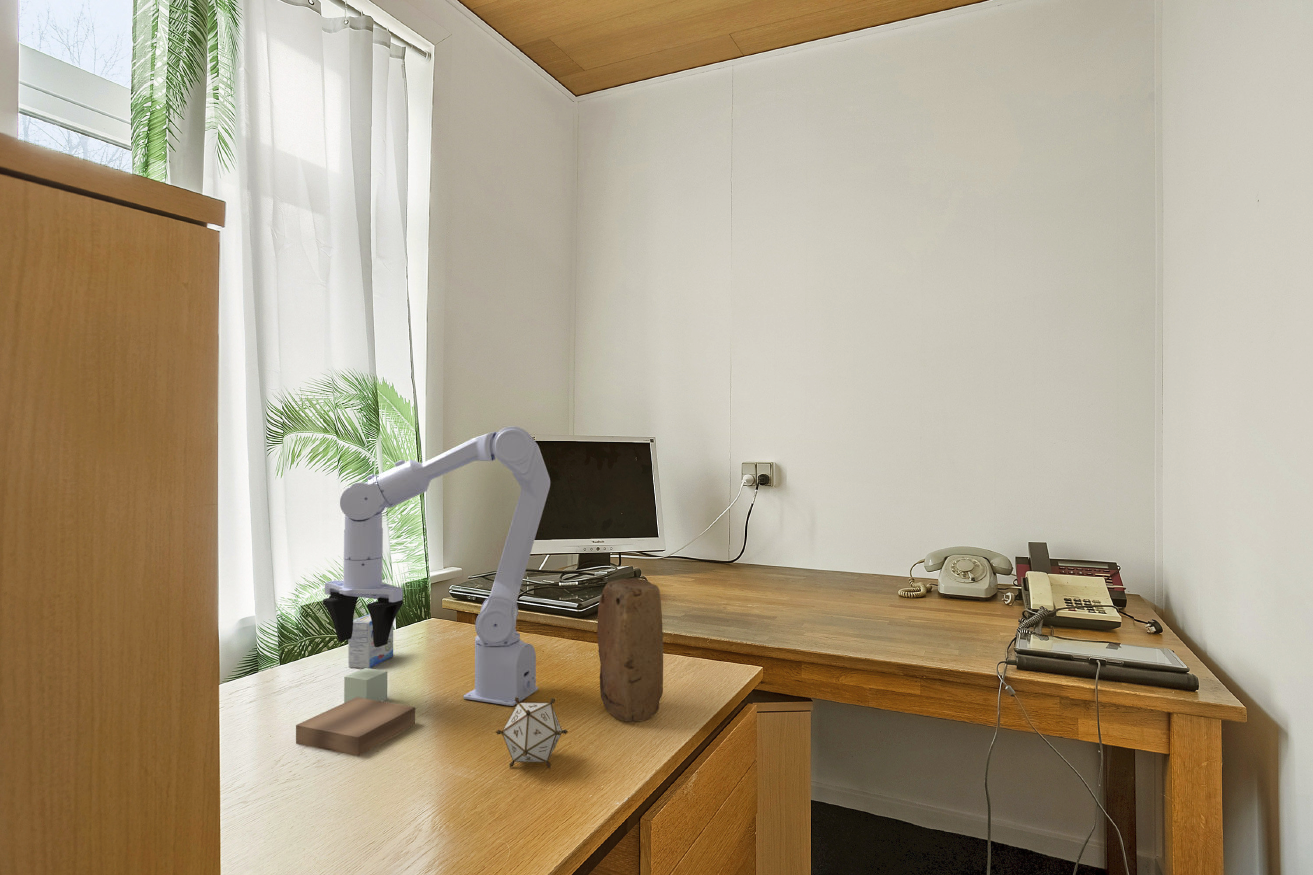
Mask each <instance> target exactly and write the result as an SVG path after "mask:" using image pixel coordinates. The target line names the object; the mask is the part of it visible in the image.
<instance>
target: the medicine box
mask: <svg viewBox="0 0 1313 875" xmlns="http://www.w3.org/2000/svg"><path fill="white" fill-rule="evenodd" d="M347 641H348V645H347V646H348V647H347V648H348V650H347V651H348V657H347V658H348V660H347V661H348V668H352V669H364V668H369V669H373V667H376V666H377V665H380V664H381V663H384V661H387V660H388V659H390V658H392V657H394V623H393V624H392V627H391V631H390V634H389V638H388V642H387V644H386V645H383V646H381V647H374V642H373V626H372V620H371V616H370V613H368V614H366V615H363V616H360V617H358V618H356V619H353V632H352V637H351V639H348V640H347Z"/></svg>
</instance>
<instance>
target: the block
mask: <svg viewBox="0 0 1313 875" xmlns="http://www.w3.org/2000/svg"><path fill="white" fill-rule="evenodd" d="M661 598H662V597H661V592H660V588H659V586H658V585H657V584H654V583H651V582H650V581H649V580H647V579H643V578H636V577H632V578H621V579H617V580H611V581H609V582H607V583H606V584H605V586H604V587H603V590H602V592H601V595H600V598H599V600H598V608H597V623H596V624H597V625H596V626H597V627H596V628H597V633H596V634H597V648H598V649H597V650H598V658H599V662H600V665H599V667H600V671H599V692H600V698H601V701H602V703H603V705H604V708H605V710H606V711H607V712H609V713H610V715H611V716H612V717H614V718H615V719H617V720H620V721H623V722H628V723H631V722H642V721H646V720H649V719H651V718H652V716H654V715H655V714H657V713H658V712H659V710H660V701H661V699H662V696H663V692H664V687H663V686H664V634H663V632H664V631H663V613H662V600H661ZM641 720H642V721H641Z"/></svg>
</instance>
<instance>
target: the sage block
mask: <svg viewBox="0 0 1313 875" xmlns="http://www.w3.org/2000/svg"><path fill="white" fill-rule="evenodd" d="M343 681H344V688H343V689H344V693H343V695H344V696H343V703H345V702H348V701H350V700H352V699H354V698H356V697H359V698H365V699H371V700H377V701H382V702H384V701H386V700H387V699H388V670H383V669H382V670H381V669H374V668H370V669H369V668H361V669H360V670H357V671H355V672H352V673H350V674H347V675H345V676H344V680H343Z"/></svg>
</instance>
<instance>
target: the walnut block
mask: <svg viewBox="0 0 1313 875" xmlns="http://www.w3.org/2000/svg"><path fill="white" fill-rule="evenodd" d="M415 725H416V707H415V706H410V705H405V704H399V703H393V702H387V701H377V700H371V699H365V698H359V697H356V698H354V699H352V700H350V701H348V702H345V703H344V702H343V703H341V704H339V705H337V706H334V707H332V708H330V709H328V710H326V711H324V712H321V713H319V714H317V715H315V716H312V717H311V718H308V719H306V720H304V721H302V722H300V723H297V724H295V744H296V745H302V746H305V747H306V746H307V747H311V748H315V749H320V750H325V751H329V752H330V751H331V752H336V753H339V754H344V755H350V756H354V757H359V756H362V755H363V754H365V753H367V752H368V751H370V750H372V749H374V748H376V747H379V745H382V744H383V743H385V742H386V741H388V740H390V739H392V738H394V737H396V736H397V735H399V734H401V733H403V732H404V731H406V730H408V729H410V728H412V727H413V726H415Z"/></svg>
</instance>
